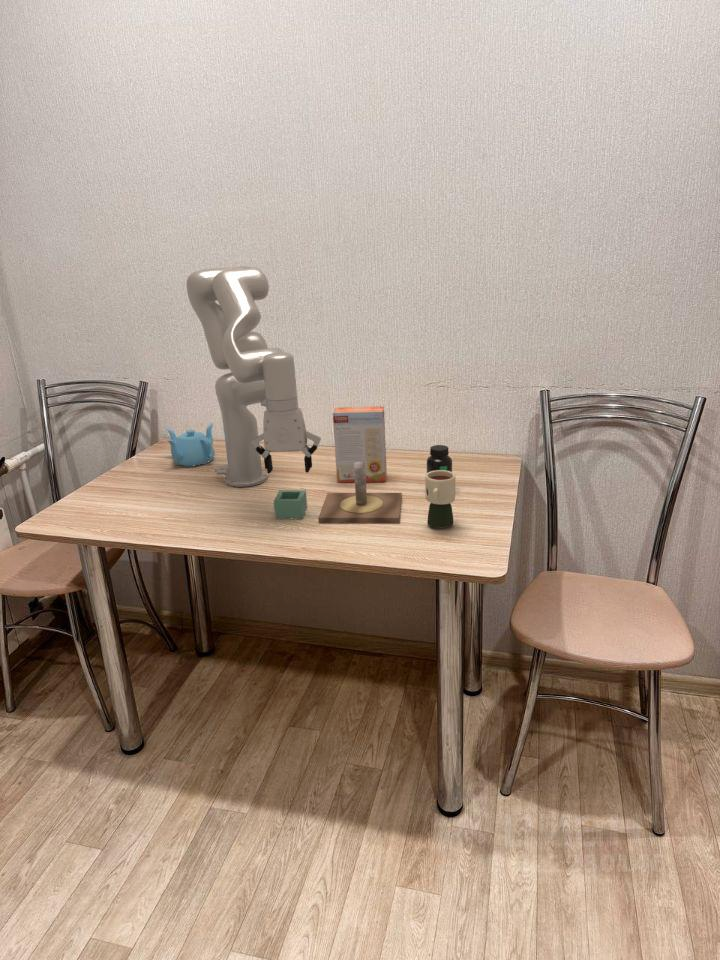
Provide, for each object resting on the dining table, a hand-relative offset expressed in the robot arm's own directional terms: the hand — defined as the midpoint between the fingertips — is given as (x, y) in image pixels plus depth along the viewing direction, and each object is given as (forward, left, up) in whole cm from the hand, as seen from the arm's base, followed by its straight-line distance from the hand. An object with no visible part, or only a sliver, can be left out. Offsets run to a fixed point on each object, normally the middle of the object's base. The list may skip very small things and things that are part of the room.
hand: (289, 471), depth 173 cm
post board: (+18, +3, -12) cm, 21 cm away
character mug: (+38, -6, -12) cm, 40 cm away
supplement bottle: (+38, +17, -12) cm, 43 cm away
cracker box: (+16, +25, -12) cm, 31 cm away
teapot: (-40, +42, -12) cm, 59 cm away
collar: (0, +1, -12) cm, 12 cm away
